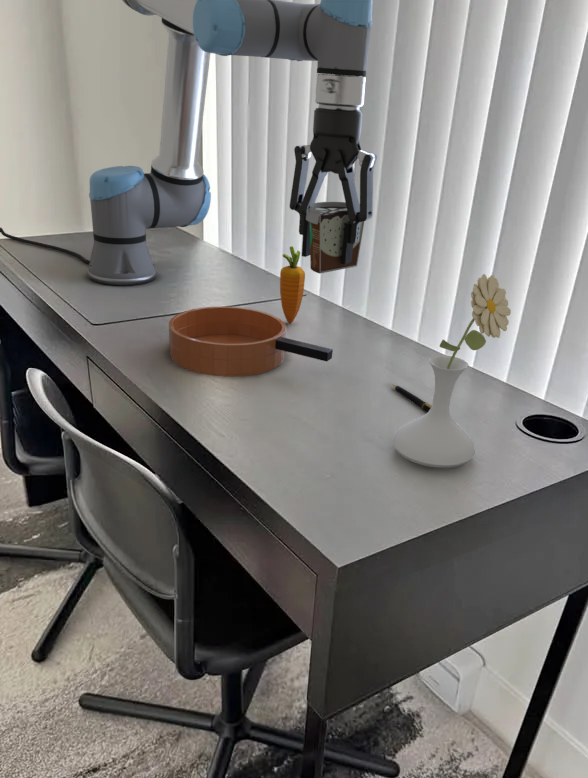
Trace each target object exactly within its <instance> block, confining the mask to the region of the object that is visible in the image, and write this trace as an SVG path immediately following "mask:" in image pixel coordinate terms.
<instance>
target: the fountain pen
mask: <svg viewBox="0 0 588 778" xmlns="http://www.w3.org/2000/svg"><path fill="white" fill-rule="evenodd" d="M391 385H392V387H393V388H395V391H397V392H398V393H400V394H401V395H402V396H403V397H405V398H406V399H407V400H409V401H410V402H412V403H413V404H414V405H416V406H417V407H418V408H420V409H421V410H422V411H424V412H426V413H428V412H429V410H430V409H431V406H432V404H429V403H428V402H426V401H425V400H423V399H421V398H419V397H418V396H417V395H415V394H413V393H412V392H409V391H408V390H406V389H404V388H403V387H401V386H399V385H396V384H394V383H391Z"/></svg>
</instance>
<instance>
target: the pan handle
mask: <svg viewBox="0 0 588 778" xmlns="http://www.w3.org/2000/svg"><path fill="white" fill-rule="evenodd" d="M275 349H278V350H282V351H285V353H291V354H295V355H299V356H302V357H306V358H310V359H315V360H319V361H322V362H329V361H330V360H332V359H333V352H334V351H333V350H334V349H333V348H328V347H325V346H321V345H316V344H313V343H308V342H304V341H300V340H296V339H292V338H287V337H285V338H284V337H280V338H278V339H277V340H276V345H275Z"/></svg>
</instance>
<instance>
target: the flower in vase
mask: <svg viewBox="0 0 588 778" xmlns="http://www.w3.org/2000/svg"><path fill="white" fill-rule="evenodd" d="M476 282H477V283H473V287H472V291H471V292H470V297H471V299H472V300H471V302H470V305H471V306H470V307H471V308H472V311H471V316H472V319H471V320H470V322H469V324H468V325H467V327H466V329H465V331H464V333H463V334H462V337H461V339H460V341H459V342H458V344H457V345H453V344H451V343H449V342H448V341H446V340H445V339H442V340H441V341H440V344H439V347H440V348H441V349H443V350H447V351H450V352H453V353H452V355H445V354H444V355H443V354H442V355H441V354H439V355H435V356H431V357H430V358H429V360H428V361H429V364H430V366H431V368H432V371H433V374H434V392H433V399H432V404H431V409H430V410H429V412H428V413H427V412H426V413H425V414H423V415H421V416H418V417H417V418H414V419H412V420H410V421H408V422H406V423H404V424H403V425H401V426H400V427H399V428H397V429H396V431H395V432H394V434H393V435H392V439H391V442H392V445H393V447H394V449H395V450H396V452H397V453H398V454H399V455H400V456H402V457H403V458H404V459H406V460H408V461H410V462H412V463H414V464H417V465H420V466H425V467H430V468H438V469H450V468H456V467H460V466H463V465H466V464H467V463H468V462H470V461H471V460H472V459H473V457H475V454H476V448H475V444H474V443H475V442H474V441H473V439H472V438H471V436H470V435H469V433H467V432H466V430H465V429H463V428H462V426H460V424H458V423H457V422H456V421H455V420H454V419H453V418H452V416H451V414H450V406H451V405H450V404H451V398H452V395H453V392H454V388H455V385H456V383H457V381H458V379H459V377H460V376H461V375H462V373H463V372H465V370H467V369H468V367H469V363H468V362H467V361H466V360H464V359H462V358H460V357H456V355H457V353H458V351H459V350H460V349H461V346H462V344H463V342H465V344H466V345H467V347H468V348H469V349H470V350H472V351H477V350H480V349H481V348H483V347H484V346H485V345H486V343H487V339H486V337H485V335H486V336H487V337H489V338H490V337H491V338H494V339H495V338H497V339H499V338H501V330H502V331H503V332H506V331H507V330H508V325H509V324H510V323H509V322H510V321H509V318H508V316H509V317H510V316H511V313H512V310H511V308H510V307H508V306H509V300H508V299H507V298H506V295H507V292H506V289H505V288H501V287H499V286H500V285H499V280H498V278H497V277H495V276H494V275H493V274H491V275H490V276H488V277H487V275H486V273H483V274H482V275H481V276H480V277H478V278H477V280H476ZM474 322H475V325H476V326H477V327H478V329H479V331H478V330H477V329H472V330H470V329H471V327H472V326H473V324H474ZM484 334H485V335H484Z"/></svg>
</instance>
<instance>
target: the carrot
mask: <svg viewBox="0 0 588 778" xmlns="http://www.w3.org/2000/svg"><path fill="white" fill-rule="evenodd" d="M289 252H290V255H291V256H289V255H288V254H286V253H283V254H282V257H283V258H284V259H286V261H287V262H288V264H289V265H286V266H283V267H282V268H281V269H280V273H279V277H280V278H279V295H280V302H281V308H282V311H283V315H284V317H285V319H286V322H287V323H288V324H292V323H293V322H294V320H295V319H296V318H297V315H298V314H299V311H300V308H301V305H302V301H303V297H304V290H305V281H306V272H305V270H304V269H303V268H302V266H298V264H299V263H298V262H299V260H300V257H301V251H300V250H297V251H295V247H294V246H289Z"/></svg>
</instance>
